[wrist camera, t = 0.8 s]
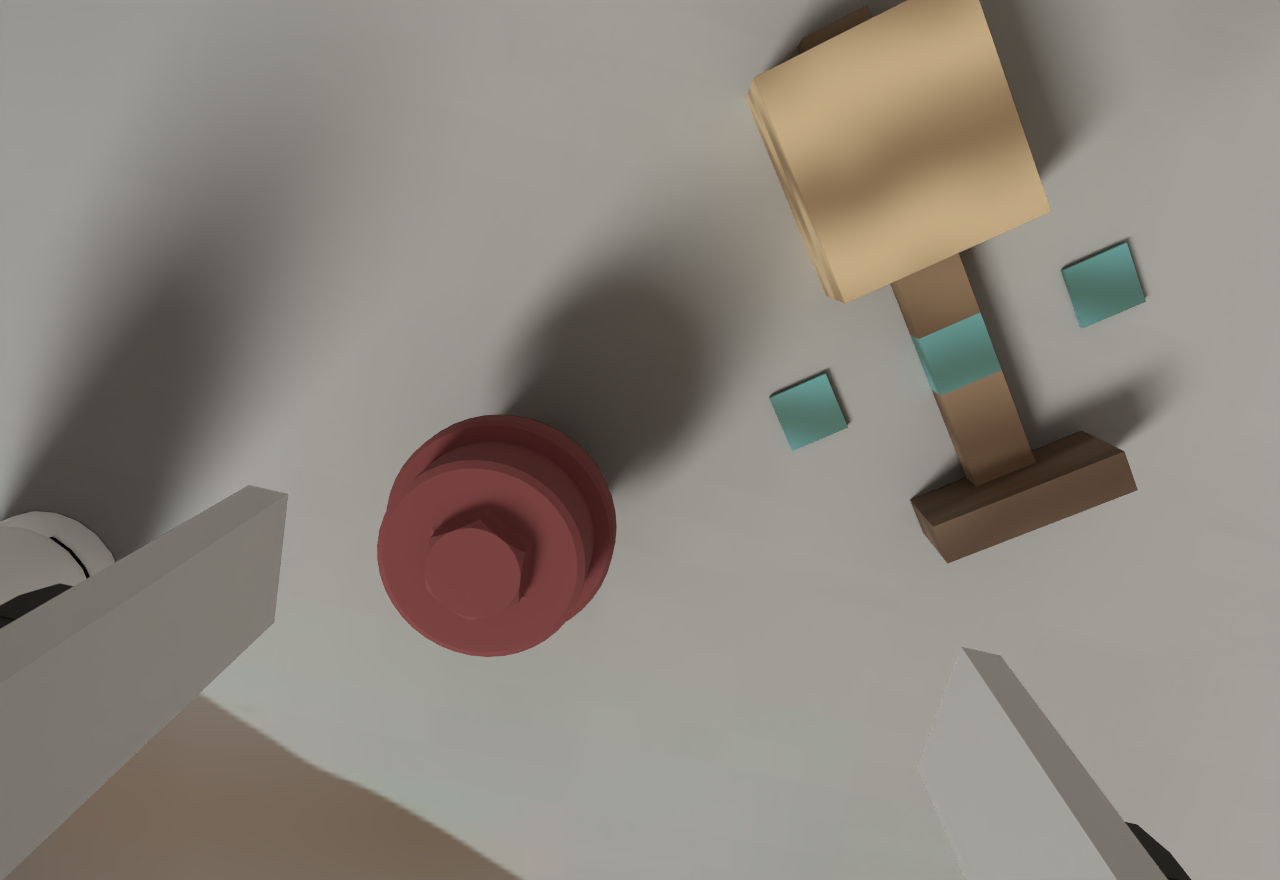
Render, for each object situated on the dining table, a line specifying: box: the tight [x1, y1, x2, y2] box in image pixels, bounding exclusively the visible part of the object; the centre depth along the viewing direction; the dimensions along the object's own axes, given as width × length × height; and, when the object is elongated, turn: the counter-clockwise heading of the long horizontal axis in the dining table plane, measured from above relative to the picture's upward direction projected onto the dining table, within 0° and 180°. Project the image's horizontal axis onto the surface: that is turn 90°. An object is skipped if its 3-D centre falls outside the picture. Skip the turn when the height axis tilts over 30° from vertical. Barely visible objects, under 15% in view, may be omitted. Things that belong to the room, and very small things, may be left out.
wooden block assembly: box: [769, 6, 1146, 563], centre depth 37 cm, size 24×18×4 cm
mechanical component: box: [377, 415, 616, 657], centre depth 36 cm, size 12×10×10 cm
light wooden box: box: [746, 0, 1051, 304], centre depth 35 cm, size 10×9×5 cm
